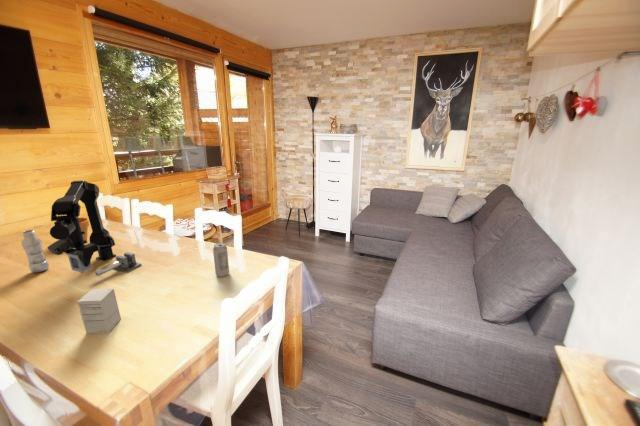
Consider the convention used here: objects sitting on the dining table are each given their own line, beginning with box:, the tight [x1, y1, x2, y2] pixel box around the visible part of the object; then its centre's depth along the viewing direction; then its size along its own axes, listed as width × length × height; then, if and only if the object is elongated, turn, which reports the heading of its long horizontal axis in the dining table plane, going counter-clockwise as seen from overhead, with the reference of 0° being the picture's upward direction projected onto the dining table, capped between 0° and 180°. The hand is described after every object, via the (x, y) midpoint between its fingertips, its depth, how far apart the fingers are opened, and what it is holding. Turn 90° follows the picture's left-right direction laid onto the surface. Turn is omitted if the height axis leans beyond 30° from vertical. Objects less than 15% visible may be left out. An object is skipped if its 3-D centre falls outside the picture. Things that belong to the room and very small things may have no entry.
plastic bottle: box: [21, 229, 50, 274], centre depth 131 cm, size 6×7×20 cm
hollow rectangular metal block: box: [66, 250, 93, 273], centre depth 119 cm, size 6×4×8 cm, turn 70°
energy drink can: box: [212, 242, 230, 278], centre depth 130 cm, size 6×6×15 cm
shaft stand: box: [94, 252, 142, 277], centre depth 133 cm, size 10×17×6 cm, turn 160°
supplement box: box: [77, 288, 122, 334], centre depth 96 cm, size 7×7×13 cm
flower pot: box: [78, 217, 90, 241], centre depth 165 cm, size 14×14×13 cm
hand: (81, 265), depth 119 cm, fingers closed on hollow rectangular metal block, 6 cm apart
